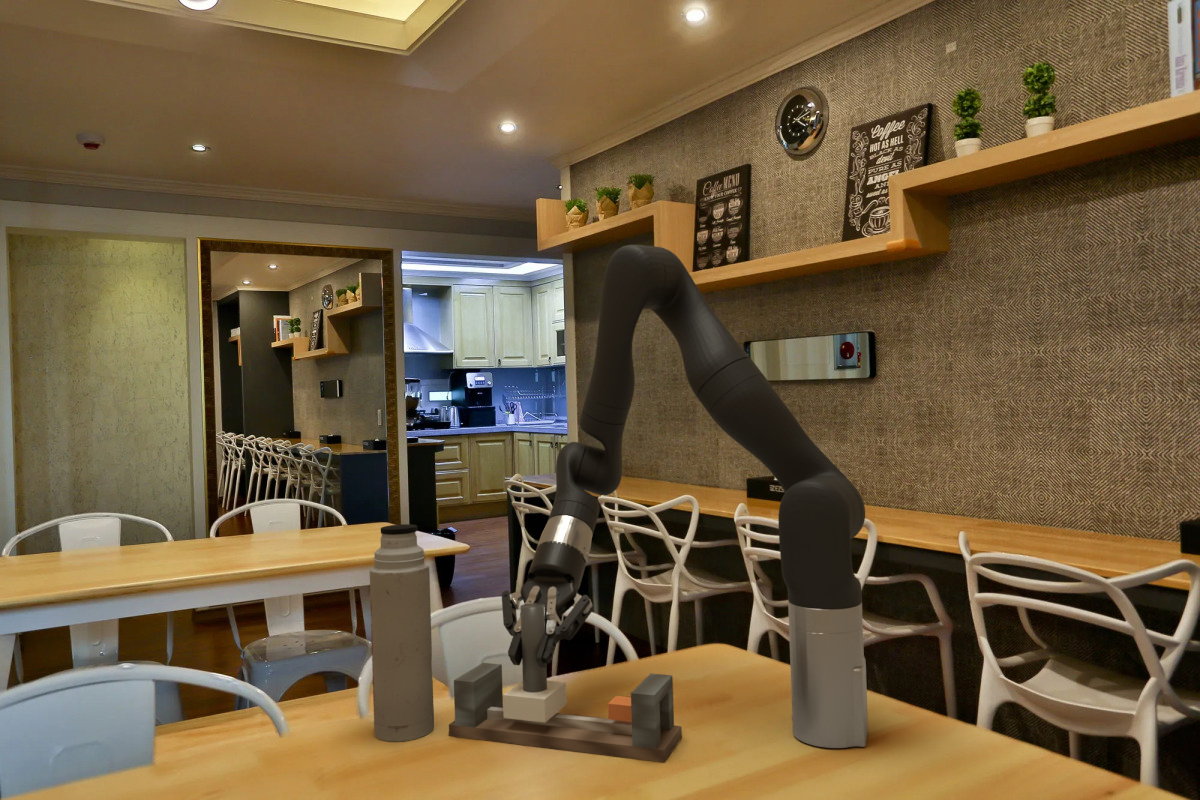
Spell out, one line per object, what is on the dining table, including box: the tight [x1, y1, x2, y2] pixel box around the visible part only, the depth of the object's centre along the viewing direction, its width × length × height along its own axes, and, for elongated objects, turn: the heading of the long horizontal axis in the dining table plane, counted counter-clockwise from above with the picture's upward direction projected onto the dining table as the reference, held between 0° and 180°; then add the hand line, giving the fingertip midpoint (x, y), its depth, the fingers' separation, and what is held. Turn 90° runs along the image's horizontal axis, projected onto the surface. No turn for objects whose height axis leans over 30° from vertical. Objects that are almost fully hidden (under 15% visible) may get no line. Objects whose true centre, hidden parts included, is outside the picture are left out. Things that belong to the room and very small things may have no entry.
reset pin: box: [607, 695, 632, 722], centre depth 108 cm, size 5×3×2 cm, turn 69°
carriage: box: [503, 603, 568, 723], centre depth 113 cm, size 6×7×14 cm
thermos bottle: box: [369, 523, 435, 742], centre depth 116 cm, size 8×8×28 cm
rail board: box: [448, 662, 683, 763], centre depth 112 cm, size 30×8×8 cm, turn 69°
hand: (527, 662), depth 111 cm, fingers closed on carriage, 3 cm apart
